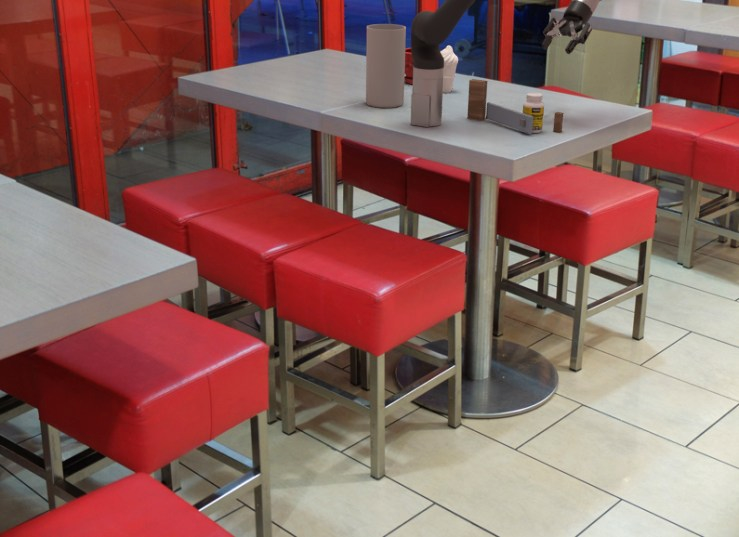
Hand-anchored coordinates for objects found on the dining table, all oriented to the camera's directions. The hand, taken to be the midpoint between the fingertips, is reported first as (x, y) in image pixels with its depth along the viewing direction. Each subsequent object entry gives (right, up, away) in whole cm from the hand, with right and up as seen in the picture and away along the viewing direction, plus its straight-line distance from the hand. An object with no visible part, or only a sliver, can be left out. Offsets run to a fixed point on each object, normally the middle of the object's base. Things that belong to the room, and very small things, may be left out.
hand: (555, 50), depth 296 cm
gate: (-14, -22, +3) cm, 26 cm away
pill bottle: (-7, -24, +1) cm, 25 cm away
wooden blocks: (-11, -21, +7) cm, 25 cm away
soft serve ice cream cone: (-29, -4, +51) cm, 58 cm away
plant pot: (-38, +2, +64) cm, 74 cm away
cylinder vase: (-50, -11, +31) cm, 60 cm away
